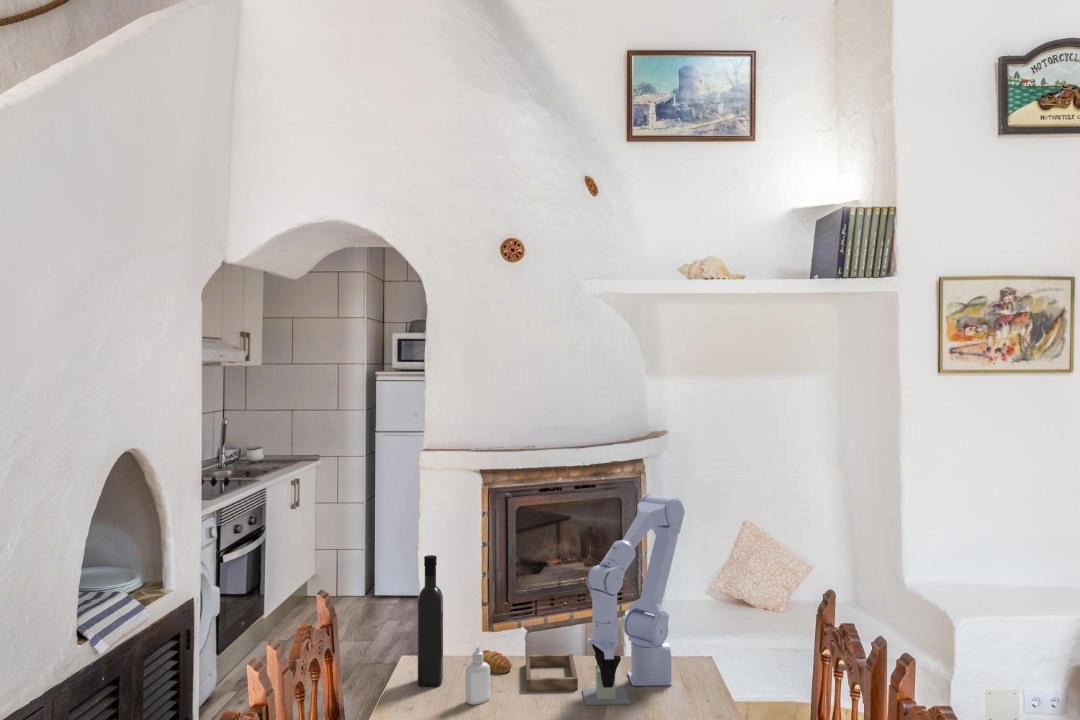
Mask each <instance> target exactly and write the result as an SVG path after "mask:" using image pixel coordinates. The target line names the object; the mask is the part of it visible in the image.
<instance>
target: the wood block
mask: <svg viewBox="0 0 1080 720" xmlns="http://www.w3.org/2000/svg"><path fill="white" fill-rule="evenodd" d="M595 688H596V694H597V699H615V688H616V677H615V678H614V684H613V687H611V688H604V687H603V684H602V679H601V673H600V668H599V665H595Z"/></svg>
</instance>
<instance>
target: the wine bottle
mask: <svg viewBox="0 0 1080 720" xmlns="http://www.w3.org/2000/svg"><path fill="white" fill-rule="evenodd" d="M437 558H438V557H437V555H433V554H431V555H430V554H428V555H425V556H424V557H423V561H424V564H423V565H424V586H423V588H422V589H421V590H420V592H419V595H418V597H417V685H419V687H421V686H427V687H440V686H441V685H442V684H443V681H444V680H443V679H444V595H443V592H442V591H441V589H440V588H439V587H438V586H437V564H438V563H437Z"/></svg>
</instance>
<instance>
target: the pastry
mask: <svg viewBox="0 0 1080 720" xmlns="http://www.w3.org/2000/svg"><path fill="white" fill-rule="evenodd" d="M481 652H483V662H485V663H487V664H489V666H490V674H491V673H492V674H506V673H507V672H509V671H511V669H512V663H511V661H510V660H509V659H508V658H507V657H506V656H504V655H503V654H502V653H500V652H498V651H495V650H494V651H491V650H489V649H485V650H483V651H482V650H481Z"/></svg>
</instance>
